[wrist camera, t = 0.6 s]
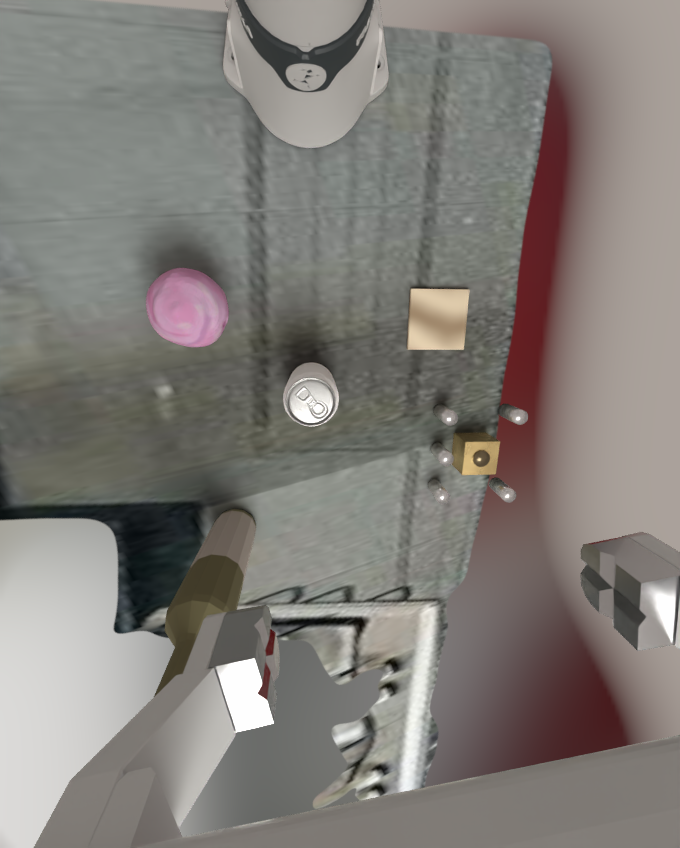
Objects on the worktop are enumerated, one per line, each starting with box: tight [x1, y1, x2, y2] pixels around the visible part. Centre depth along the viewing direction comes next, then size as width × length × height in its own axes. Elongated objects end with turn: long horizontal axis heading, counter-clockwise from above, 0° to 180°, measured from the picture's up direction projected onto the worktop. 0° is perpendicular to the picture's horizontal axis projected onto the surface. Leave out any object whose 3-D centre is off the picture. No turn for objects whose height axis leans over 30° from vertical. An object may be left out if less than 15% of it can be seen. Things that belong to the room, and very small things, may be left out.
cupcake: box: [146, 268, 229, 347], centre depth 44 cm, size 9×9×10 cm
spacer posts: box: [428, 404, 528, 504], centre depth 54 cm, size 14×12×4 cm
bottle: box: [154, 509, 256, 697], centre depth 43 cm, size 7×7×30 cm
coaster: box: [407, 289, 469, 350], centre depth 50 cm, size 8×8×1 cm
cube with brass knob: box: [452, 432, 500, 475], centre depth 54 cm, size 5×5×5 cm
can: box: [283, 362, 339, 426], centre depth 46 cm, size 6×6×12 cm
